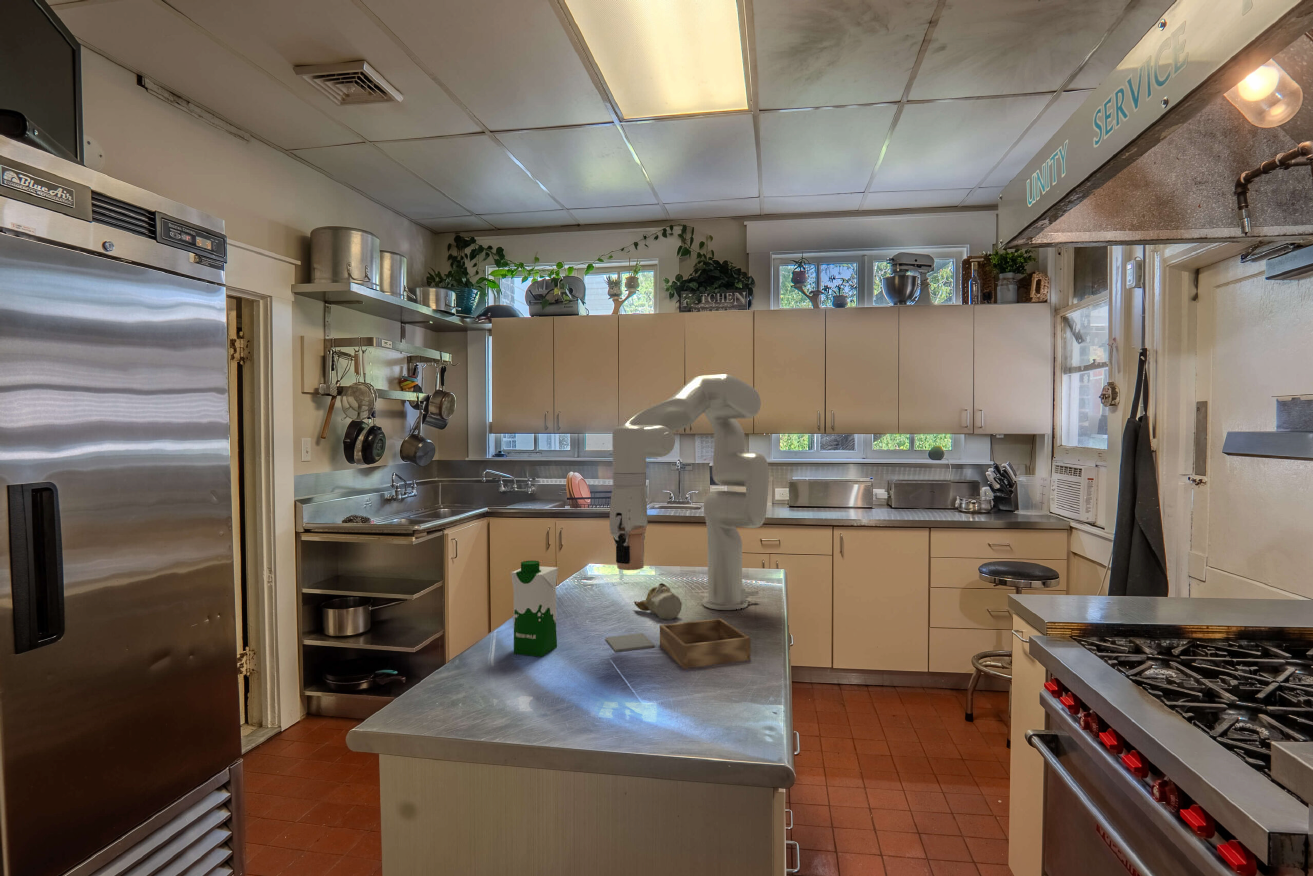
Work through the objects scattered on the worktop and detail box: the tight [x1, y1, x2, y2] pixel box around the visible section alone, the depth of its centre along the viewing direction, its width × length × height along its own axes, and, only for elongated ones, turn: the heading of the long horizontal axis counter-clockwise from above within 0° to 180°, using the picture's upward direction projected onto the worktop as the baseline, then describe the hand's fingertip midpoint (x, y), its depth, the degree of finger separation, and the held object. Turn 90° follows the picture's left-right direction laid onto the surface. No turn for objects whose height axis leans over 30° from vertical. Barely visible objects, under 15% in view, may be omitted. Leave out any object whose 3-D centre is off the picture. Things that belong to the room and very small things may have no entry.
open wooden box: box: [659, 618, 752, 669], centre depth 141 cm, size 15×15×5 cm
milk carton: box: [510, 560, 559, 658], centre depth 144 cm, size 9×9×20 cm
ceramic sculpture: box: [633, 582, 683, 621], centre depth 172 cm, size 11×9×15 cm
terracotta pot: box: [616, 526, 647, 571], centre depth 147 cm, size 7×7×9 cm
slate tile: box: [605, 632, 656, 653], centre depth 147 cm, size 9×9×1 cm
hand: (630, 559), depth 147 cm, fingers closed on terracotta pot, 6 cm apart
